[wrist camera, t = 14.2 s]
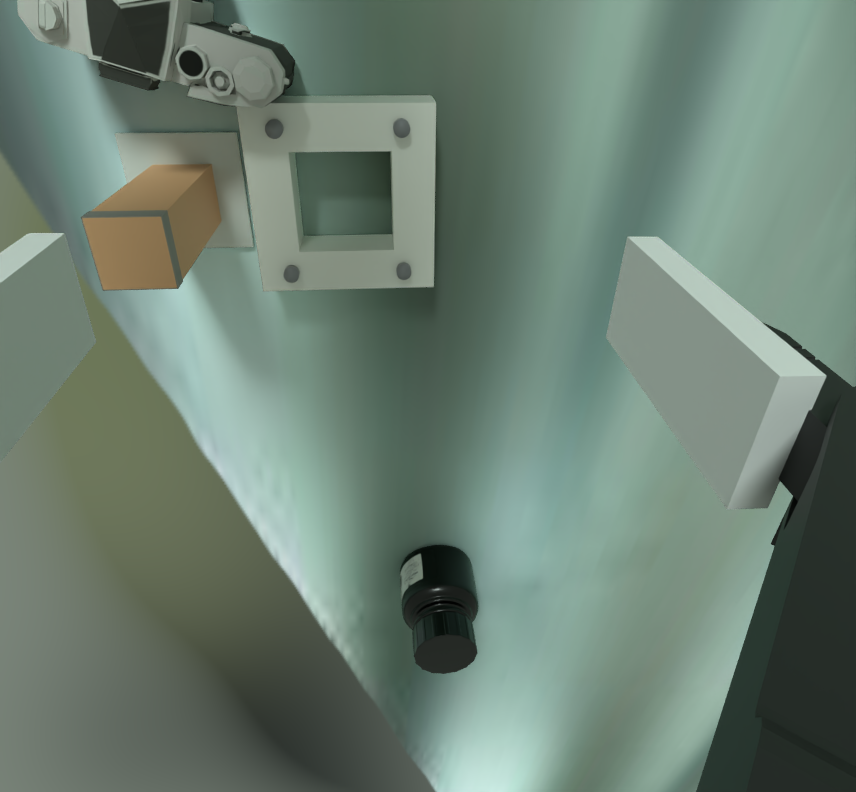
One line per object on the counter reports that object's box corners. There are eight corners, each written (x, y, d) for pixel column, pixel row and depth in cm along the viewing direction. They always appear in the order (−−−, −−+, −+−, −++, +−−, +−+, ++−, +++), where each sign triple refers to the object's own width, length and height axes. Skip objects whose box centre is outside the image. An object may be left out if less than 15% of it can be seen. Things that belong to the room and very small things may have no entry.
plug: (151, 164, 48) (80, 217, 36) (212, 163, 48) (161, 215, 36) (164, 222, 50) (102, 290, 38) (222, 221, 51) (178, 288, 39)
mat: (116, 132, 47) (114, 133, 46) (237, 131, 47) (236, 132, 47) (145, 247, 52) (143, 249, 51) (254, 245, 52) (253, 247, 52)
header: (245, 95, 46) (233, 105, 42) (431, 95, 47) (437, 104, 43) (270, 273, 54) (262, 295, 50) (429, 269, 55) (434, 290, 51)
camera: (315, -19, 43) (302, -24, 34) (292, 111, 47) (276, 135, 39) (66, -108, 39) (-16, -138, 31) (67, 41, 43) (-6, 51, 35)
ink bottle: (396, 543, 73) (400, 630, 63) (470, 536, 73) (486, 621, 63) (402, 597, 78) (408, 685, 68) (471, 590, 78) (486, 677, 68)
